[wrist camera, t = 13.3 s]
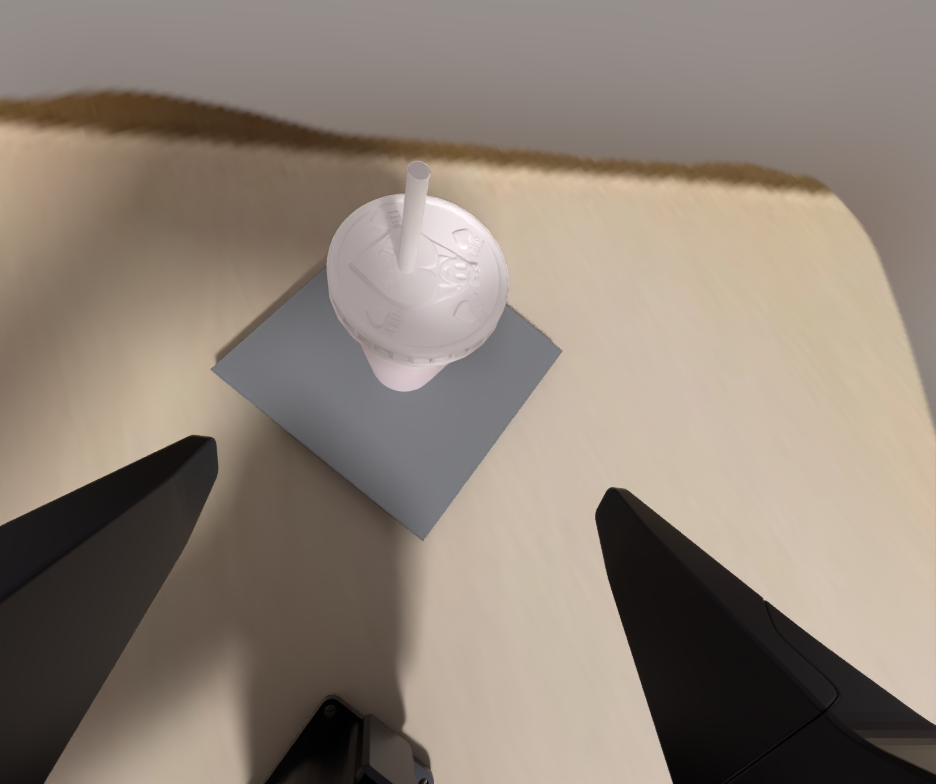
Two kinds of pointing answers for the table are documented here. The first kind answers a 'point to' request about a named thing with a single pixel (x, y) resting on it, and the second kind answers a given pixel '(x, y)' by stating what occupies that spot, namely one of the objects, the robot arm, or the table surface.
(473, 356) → the placemat
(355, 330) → the smoothie
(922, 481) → the table surface
